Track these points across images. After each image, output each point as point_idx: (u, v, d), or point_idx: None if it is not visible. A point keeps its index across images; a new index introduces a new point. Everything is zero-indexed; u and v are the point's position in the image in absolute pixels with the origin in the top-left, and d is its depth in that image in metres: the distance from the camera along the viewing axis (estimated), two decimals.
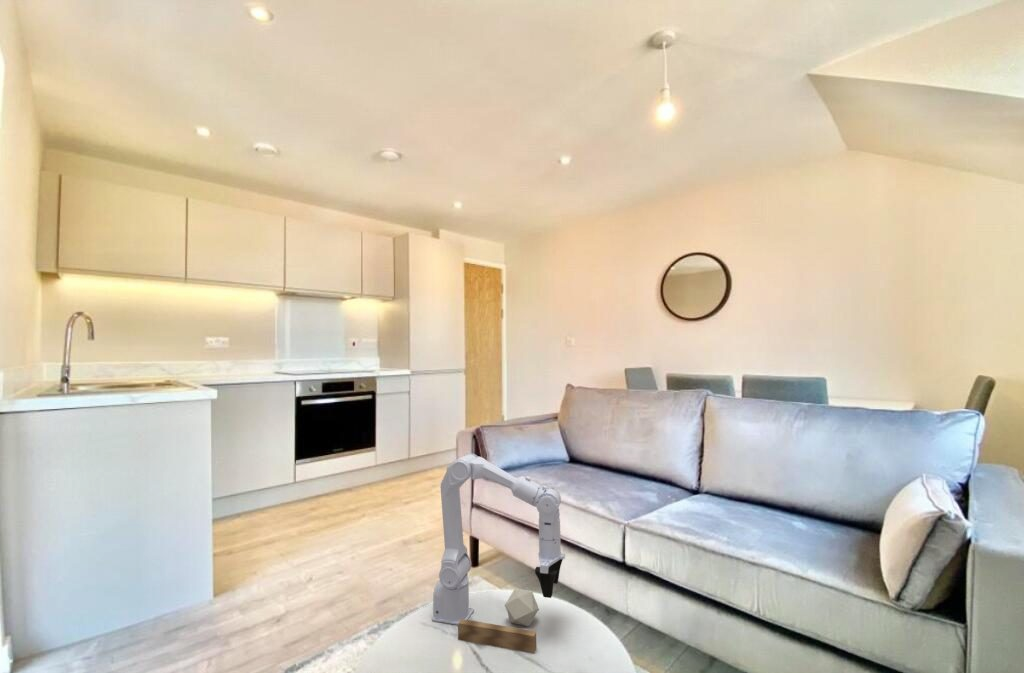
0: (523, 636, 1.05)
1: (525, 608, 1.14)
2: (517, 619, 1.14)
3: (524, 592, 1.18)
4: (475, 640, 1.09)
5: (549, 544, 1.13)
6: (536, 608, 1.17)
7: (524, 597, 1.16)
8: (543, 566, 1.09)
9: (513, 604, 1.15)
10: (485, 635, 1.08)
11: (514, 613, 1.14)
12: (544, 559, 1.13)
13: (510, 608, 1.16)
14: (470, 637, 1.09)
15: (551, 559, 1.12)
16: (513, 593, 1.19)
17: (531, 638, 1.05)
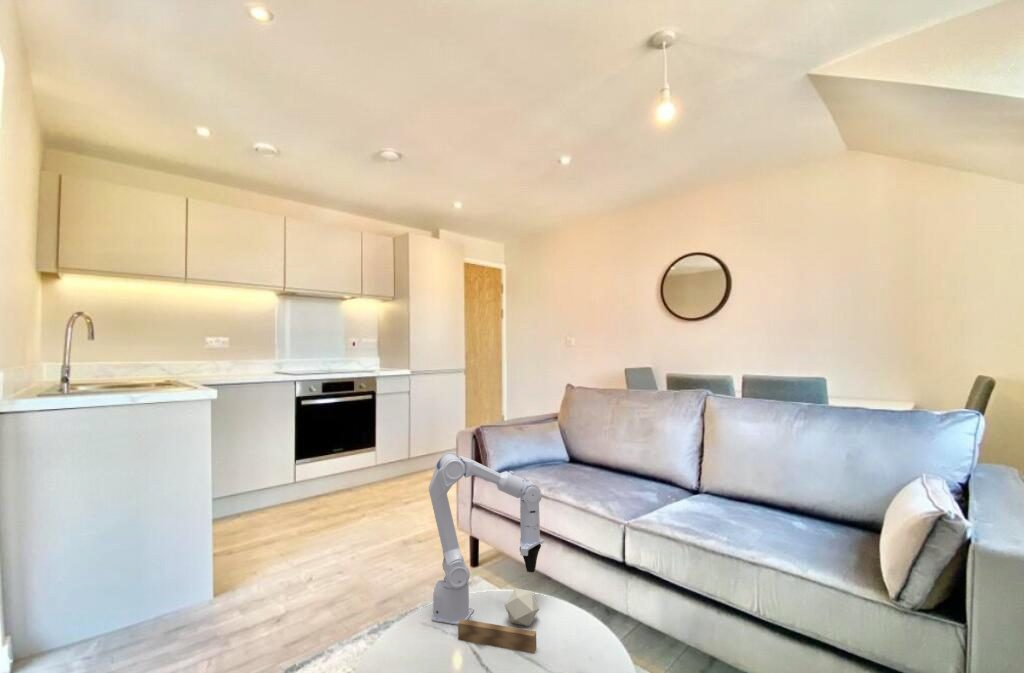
0: (523, 636, 1.05)
1: (525, 608, 1.14)
2: (517, 619, 1.14)
3: (524, 592, 1.18)
4: (475, 640, 1.09)
5: (529, 530, 1.26)
6: (536, 608, 1.17)
7: (524, 597, 1.16)
8: (523, 549, 1.21)
9: (513, 604, 1.15)
10: (485, 635, 1.08)
11: (514, 613, 1.14)
12: (525, 543, 1.26)
13: (510, 608, 1.16)
14: (470, 637, 1.09)
15: (531, 543, 1.25)
16: (513, 593, 1.19)
17: (531, 638, 1.05)
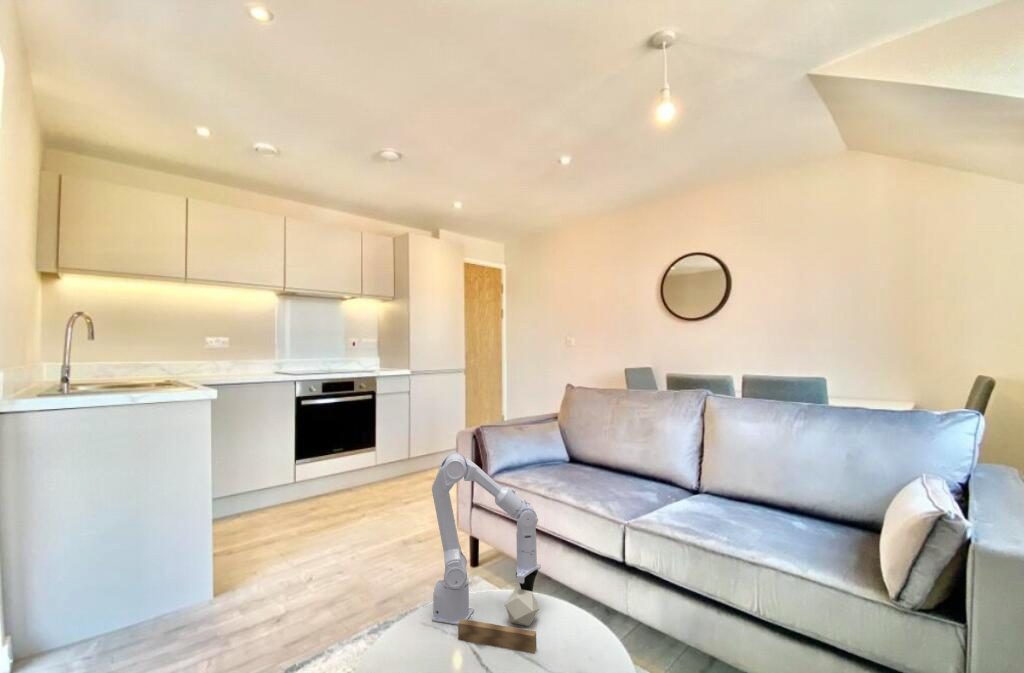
0: (523, 636, 1.05)
1: (525, 608, 1.14)
2: (517, 619, 1.14)
3: (524, 592, 1.18)
4: (475, 640, 1.09)
5: (525, 556, 1.21)
6: (536, 608, 1.17)
7: (524, 597, 1.16)
8: (519, 576, 1.17)
9: (513, 604, 1.15)
10: (485, 635, 1.08)
11: (514, 613, 1.14)
12: (521, 570, 1.21)
13: (510, 608, 1.16)
14: (470, 637, 1.09)
15: (527, 570, 1.21)
16: (513, 593, 1.19)
17: (531, 638, 1.05)
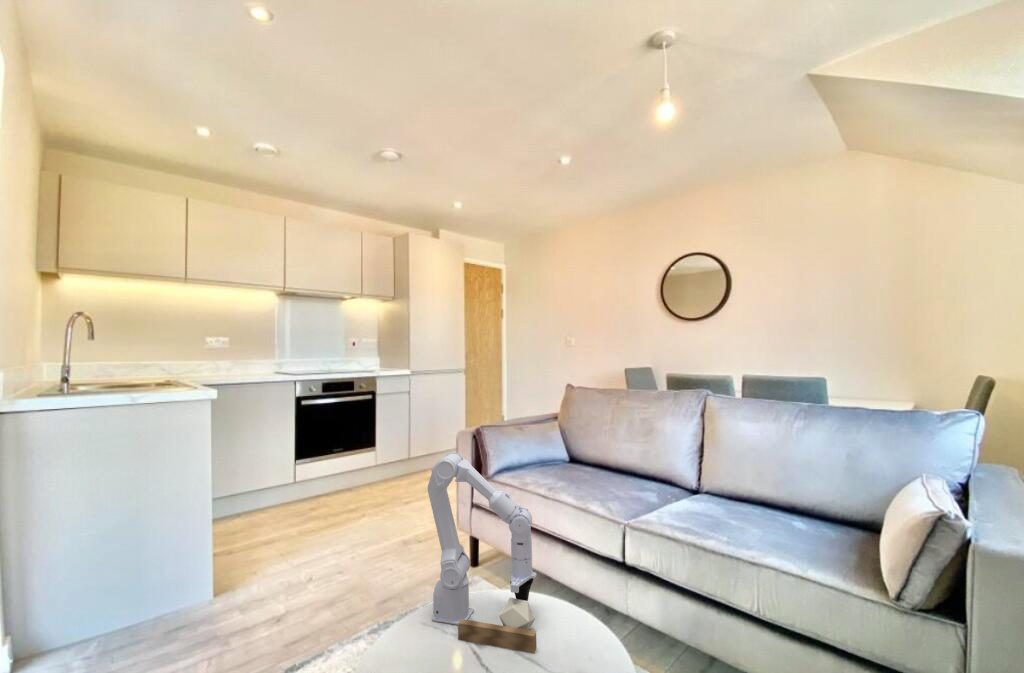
0: (523, 636, 1.05)
1: (521, 618, 1.09)
2: None
3: (519, 602, 1.13)
4: (475, 640, 1.09)
5: (520, 563, 1.16)
6: (532, 618, 1.12)
7: (520, 607, 1.11)
8: (514, 586, 1.12)
9: (508, 615, 1.10)
10: (485, 635, 1.08)
11: (509, 625, 1.09)
12: (515, 578, 1.16)
13: (505, 618, 1.11)
14: (470, 637, 1.09)
15: (522, 578, 1.16)
16: (508, 603, 1.14)
17: (531, 638, 1.05)
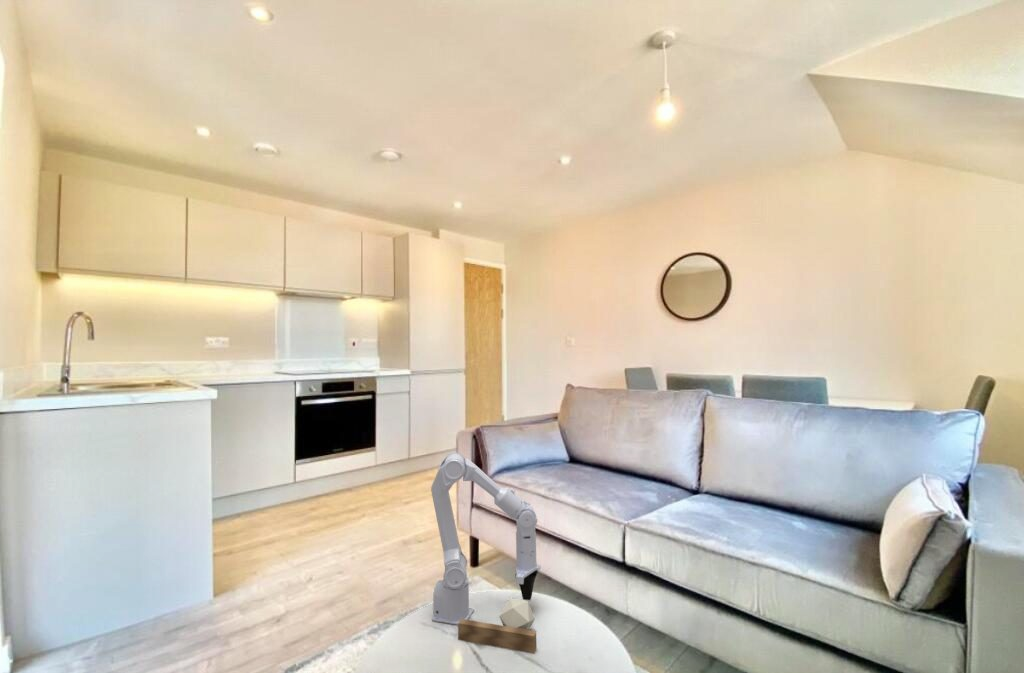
0: (523, 636, 1.05)
1: (521, 618, 1.09)
2: None
3: (519, 602, 1.13)
4: (475, 640, 1.09)
5: (525, 556, 1.21)
6: (532, 618, 1.12)
7: (520, 607, 1.11)
8: (519, 577, 1.16)
9: (508, 615, 1.10)
10: (485, 635, 1.08)
11: (509, 625, 1.09)
12: (520, 570, 1.21)
13: (505, 618, 1.11)
14: (470, 637, 1.09)
15: (527, 570, 1.20)
16: (508, 603, 1.14)
17: (531, 638, 1.05)
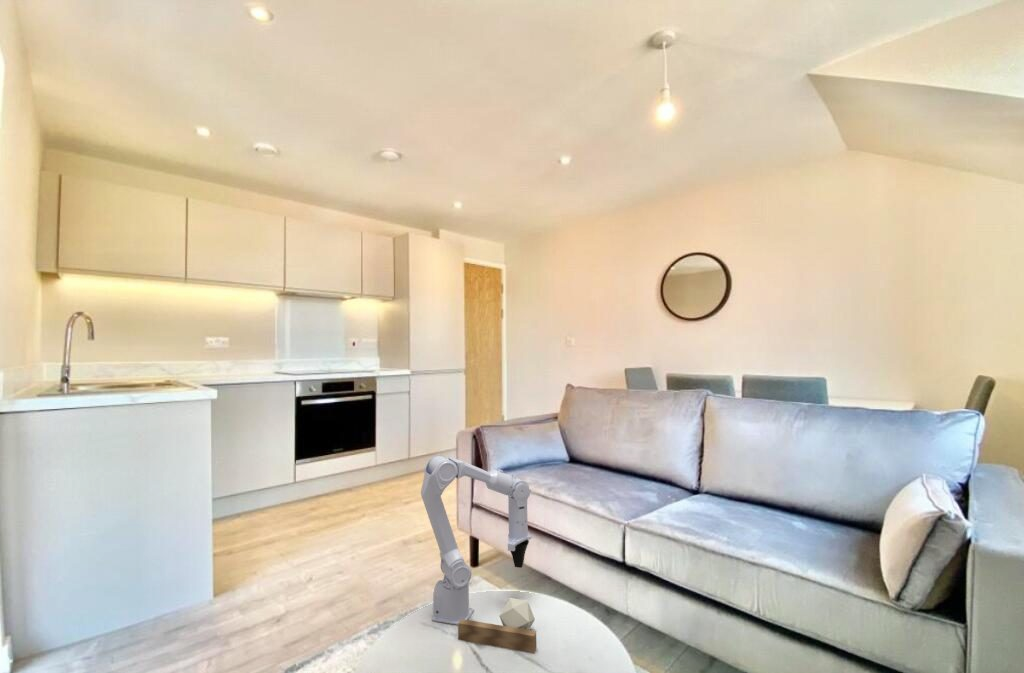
0: (523, 636, 1.05)
1: (521, 618, 1.09)
2: None
3: (519, 602, 1.13)
4: (475, 640, 1.09)
5: (517, 526, 1.28)
6: (532, 618, 1.12)
7: (520, 607, 1.11)
8: (510, 544, 1.24)
9: (508, 615, 1.10)
10: (485, 635, 1.08)
11: (509, 625, 1.09)
12: (512, 539, 1.28)
13: (505, 618, 1.11)
14: (470, 637, 1.09)
15: (518, 539, 1.27)
16: (508, 603, 1.14)
17: (531, 638, 1.05)
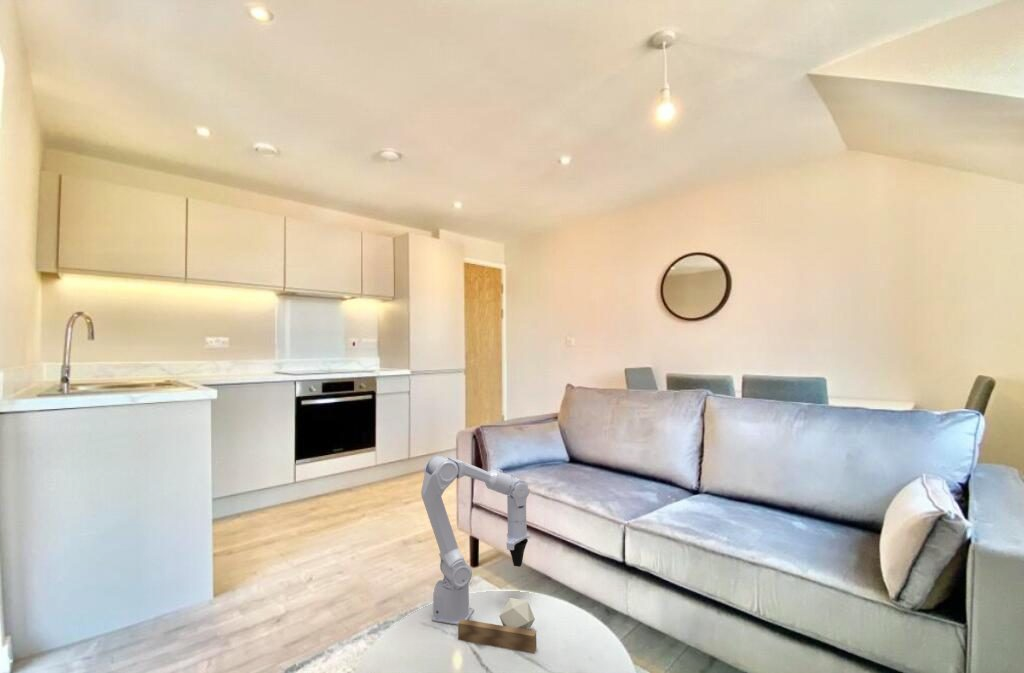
0: (523, 636, 1.05)
1: (521, 618, 1.09)
2: None
3: (519, 602, 1.13)
4: (475, 640, 1.09)
5: (516, 525, 1.29)
6: (532, 618, 1.12)
7: (520, 607, 1.11)
8: (509, 544, 1.24)
9: (508, 615, 1.10)
10: (485, 635, 1.08)
11: (509, 625, 1.09)
12: (511, 538, 1.28)
13: (505, 618, 1.11)
14: (470, 637, 1.09)
15: (517, 538, 1.28)
16: (508, 603, 1.14)
17: (531, 638, 1.05)
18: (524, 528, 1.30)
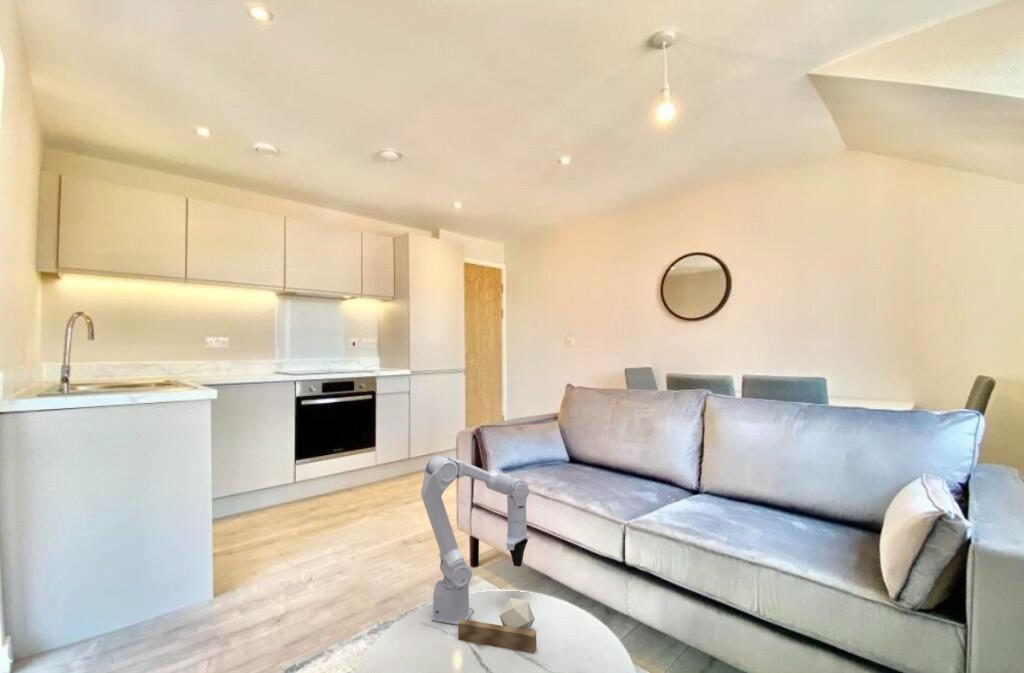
0: (523, 636, 1.05)
1: (521, 618, 1.09)
2: None
3: (519, 602, 1.13)
4: (475, 640, 1.09)
5: (516, 525, 1.29)
6: (532, 618, 1.12)
7: (520, 607, 1.11)
8: (509, 544, 1.24)
9: (508, 615, 1.10)
10: (485, 635, 1.08)
11: (509, 625, 1.09)
12: (511, 538, 1.28)
13: (505, 618, 1.11)
14: (470, 637, 1.09)
15: (517, 538, 1.28)
16: (508, 603, 1.14)
17: (531, 638, 1.05)
18: (524, 528, 1.30)
